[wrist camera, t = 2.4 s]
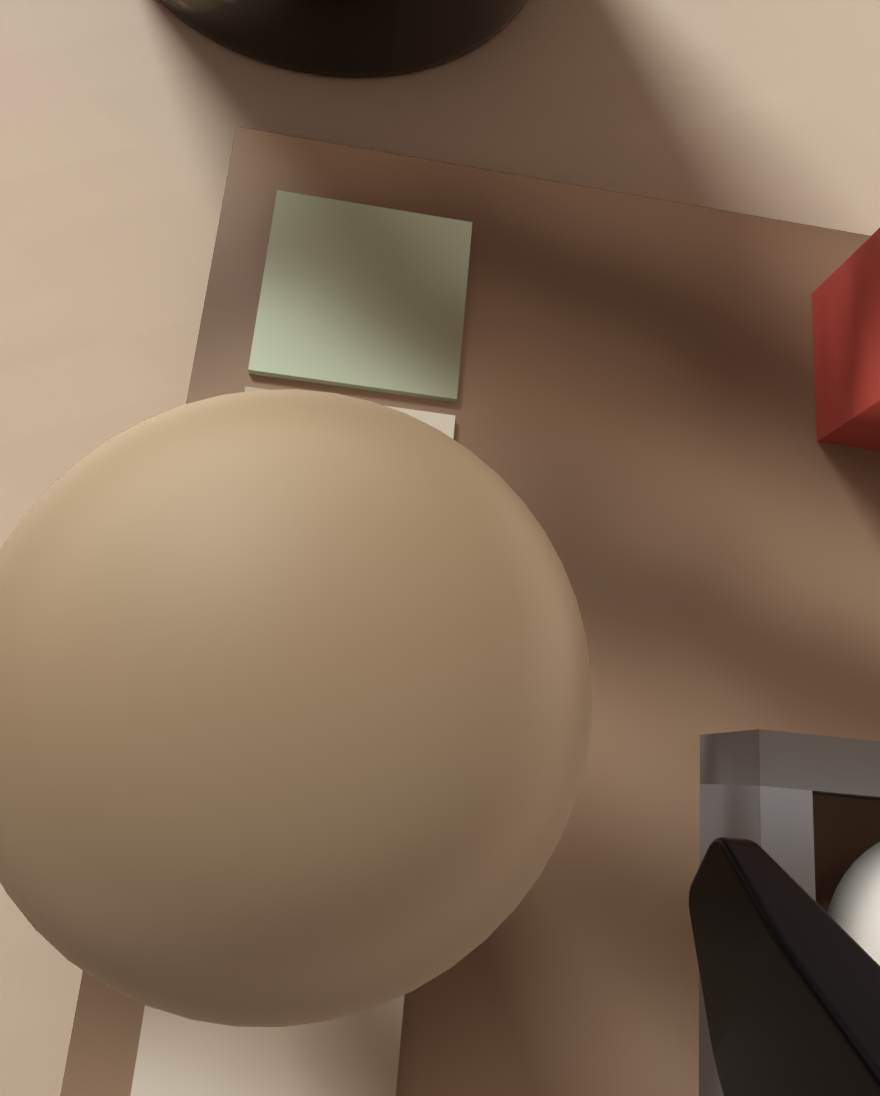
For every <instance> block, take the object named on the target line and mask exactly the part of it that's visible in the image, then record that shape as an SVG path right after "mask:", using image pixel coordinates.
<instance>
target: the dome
mask: <svg viewBox="0 0 880 1096" xmlns="http://www.w3.org/2000/svg"><path fill="white" fill-rule="evenodd" d="M827 913H828V914H829V915H830V916H831V917H832V918H833V919H834V920H835V921H836V922H837V923H838V924H839V925H840V926H841V927H842V928H843V929H844V930H845V931H846V932H847V933H848V934H849V935H850V936H851V937H852V938H853V939H854V940H855V941H856V942H857V943H858V944H859V945H860V946H861V947H862V948H863V949H864V950H865V951H866V952H867V953H868V954H869V955H870V956H871V957H872V958H873V959H874V960H875V961H876V962H877V963H878V964H879V965H880V842H878V843H876V844H875V845H874V846H872V847H871V848H869V849H868V850H866V851H865V852H864V853H863V854H862V855H861V856H860V857H859V858H858V859H857V860H856V861H855V862H854V863H853V864H852V865H851V866H850V868H849V869H848V870H847V872H846V873H845V874H844V876H843V877H842V879H841V881H840V883H839V884H838V886H837V888H836V890H835V892H834V895H833V897H832V899H831V902H830V904H829V908H828V912H827Z"/></svg>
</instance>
